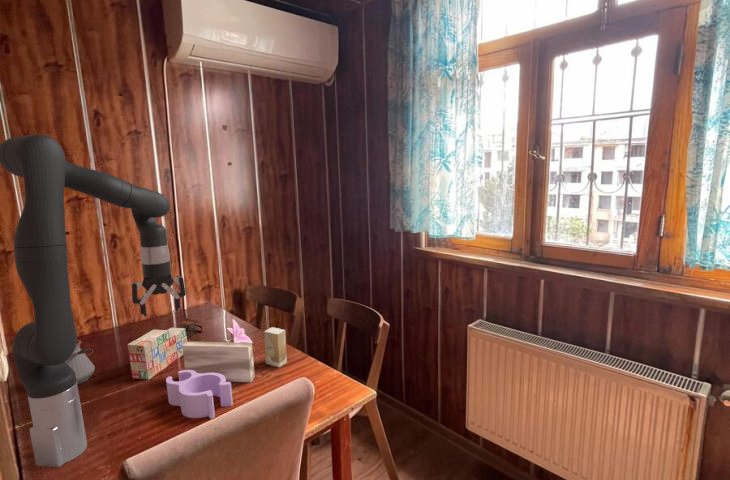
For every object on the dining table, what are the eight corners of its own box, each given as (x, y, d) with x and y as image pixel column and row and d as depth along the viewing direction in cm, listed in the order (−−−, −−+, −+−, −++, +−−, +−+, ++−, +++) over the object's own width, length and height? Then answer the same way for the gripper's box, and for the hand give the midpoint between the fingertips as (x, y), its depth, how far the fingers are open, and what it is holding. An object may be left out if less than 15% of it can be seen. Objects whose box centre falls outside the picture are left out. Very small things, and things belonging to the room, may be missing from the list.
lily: (230, 359, 146) (242, 336, 145) (210, 341, 151) (221, 319, 150) (252, 355, 157) (263, 334, 156) (232, 339, 161) (243, 318, 161)
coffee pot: (47, 383, 130) (40, 340, 128) (87, 368, 140) (81, 328, 137) (74, 403, 118) (66, 356, 116) (116, 386, 128) (109, 341, 125)
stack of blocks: (174, 350, 153) (170, 319, 151) (188, 351, 152) (185, 320, 149) (131, 378, 132) (126, 343, 130) (148, 380, 131) (143, 345, 129)
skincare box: (265, 364, 139) (262, 331, 137) (273, 358, 143) (271, 326, 141) (279, 367, 136) (277, 334, 134) (288, 362, 140) (285, 329, 138)
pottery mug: (174, 335, 168) (181, 316, 170) (196, 340, 172) (203, 321, 174) (177, 338, 157) (185, 317, 160) (201, 343, 162) (208, 323, 164)
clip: (157, 405, 116) (154, 383, 115) (193, 385, 127) (190, 365, 126) (205, 424, 107) (202, 400, 106) (239, 400, 118) (237, 378, 117)
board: (251, 382, 127) (248, 347, 125) (186, 380, 130) (182, 345, 128) (254, 377, 130) (252, 342, 128) (191, 375, 133) (187, 341, 131)
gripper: (128, 265, 112) (134, 321, 115) (183, 259, 119) (188, 311, 122) (128, 261, 118) (133, 314, 121) (180, 255, 126) (184, 305, 128)
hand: (161, 312), depth 121 cm, fingers open, 8 cm apart
